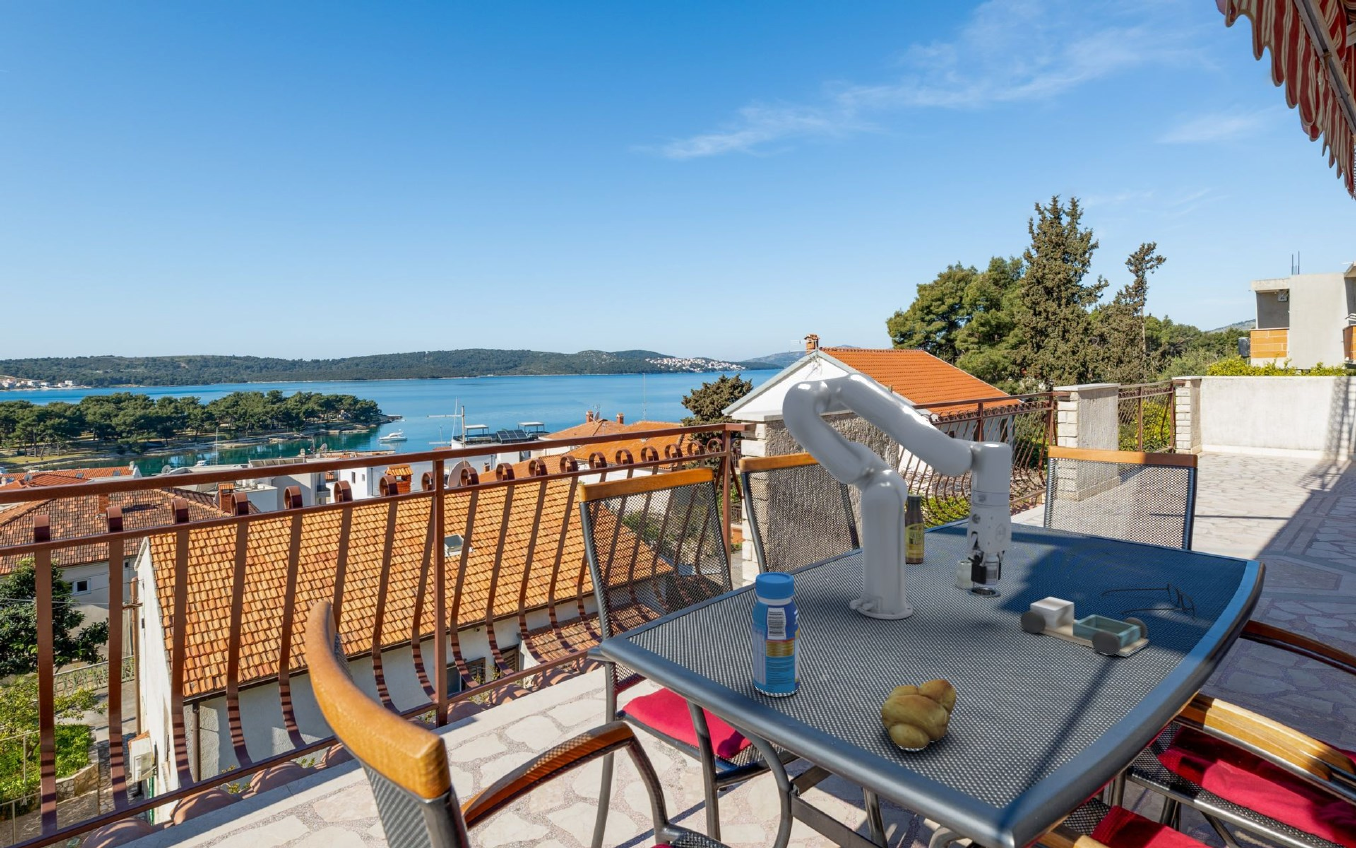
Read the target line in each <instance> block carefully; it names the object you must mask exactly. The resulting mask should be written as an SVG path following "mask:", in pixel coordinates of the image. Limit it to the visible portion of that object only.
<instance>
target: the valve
mask: <svg viewBox="0 0 1356 848" xmlns="http://www.w3.org/2000/svg"><path fill="white" fill-rule="evenodd" d="M971 566H972V564H971V563H970V559H969V557H968V556H967V560H958V561H957V562H956V569H957V570H956V573H955V574H956V575H955V576H956V579H957V581H956V587H958V588H960V589H962V590H964V589H965V590H972V589H973V587H974V582H972V581H971Z"/></svg>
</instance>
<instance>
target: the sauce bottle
mask: <svg viewBox="0 0 1356 848" xmlns="http://www.w3.org/2000/svg"><path fill="white" fill-rule="evenodd" d="M906 501H907V503H906V504H907V506H906V511H905V512H904V516H905V563H909V564H920V563H923V562H924V558H925V528H926V527H925V526H926V525H925V524H926V523H925V521H924V520H925V519H924V517H923V513H922V509H921V503H922V495H920V494H915V493H913V494H912V493H908V497H907V500H906Z"/></svg>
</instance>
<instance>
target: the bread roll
mask: <svg viewBox="0 0 1356 848" xmlns="http://www.w3.org/2000/svg"><path fill="white" fill-rule="evenodd" d="M956 700H957V692H956V690H955V687H953V685H952V684H951V682H949V681H948V680H946V679H943V678H942V679H941V678H939V679H938V678H936V679H935V678H934V679H931V680H929V681H926V682H923V683H921V684H920V685H919V686H918V687H917V686H916V685H914V684H908V685H900V686H895V687H894V688H893V690H892V691H891V692H890V693H889V694H888V695H887V698H886V701H885V702H884V703H883V705H882V707H881V708H880V715H881V718H880V721H881V722H882V724H883V726H884V727H886V728H887V729H888V731H889V732H888V731H887V732H888V735H890V738H891V740H892V742H893V741H894V742H893V743H894V744H895V743H896V744H897V745H899V746H902V747H904V748H912V749H913V748H923V747H925V746H927V745H928V744H930V741H936V742H938V741H937V740H938V739H941V738H942V737H943V736H944V735H945V736H946V734H947V732H948V726H949V723H950V720H951V716H950V715H951V714H952V712H953V710H954V707H955V704H956V702H957V701H956ZM886 728H885V729H886ZM887 729H886V730H887ZM945 736H944V737H945ZM944 737H943V738H944ZM943 738H942V739H943ZM942 739H941V740H942ZM897 745H896V746H897ZM928 746H929V745H928ZM928 746H927V747H928Z"/></svg>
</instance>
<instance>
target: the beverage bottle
mask: <svg viewBox="0 0 1356 848" xmlns="http://www.w3.org/2000/svg"><path fill="white" fill-rule="evenodd" d="M754 582H755V583H754V584H755V595H756V597H757V598H758V599H757V600H756V601H755V603H754V605H753V608H752V611H751V618H752V619H753V622H752V624H751V629H750V630H751V631H750V632H751V636H752V637H751V639H752V669H753V670H752V671H753V673H752V674H753V678H752V679H753V680H752V684H753V683H754V685H755V686H756V687H757V688H759V689H761V690H763V691H766V692H770V693H790V692H792V691H796V690H797V689H798V688H799V686H800V687H801V684H800V683H801V680H800V636H801V635H800V634H801V630H800V629H801V628H800V625H799V623H798V620H799V618H800V614H799V611H798V608H797V606H796V604H795V602H794V600H793V597H794V595H795V579H794V576H793V575H791V574H789V573H786V572H781V571H780V572H779V571H769V572H768V571H767V572H761V573H759V574H757V575H756V576H755V581H754ZM754 685H753V686H754ZM799 689H800V688H799Z"/></svg>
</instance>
